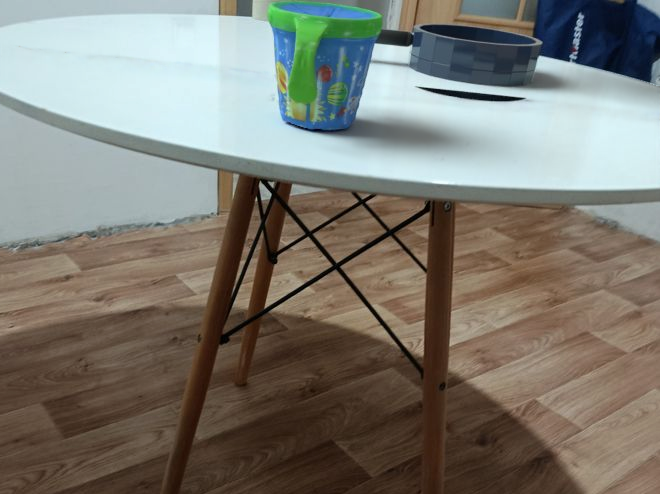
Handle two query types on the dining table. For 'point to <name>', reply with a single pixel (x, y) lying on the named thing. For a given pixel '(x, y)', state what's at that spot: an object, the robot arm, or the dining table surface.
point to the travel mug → (263, 8)
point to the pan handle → (395, 38)
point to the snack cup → (321, 60)
